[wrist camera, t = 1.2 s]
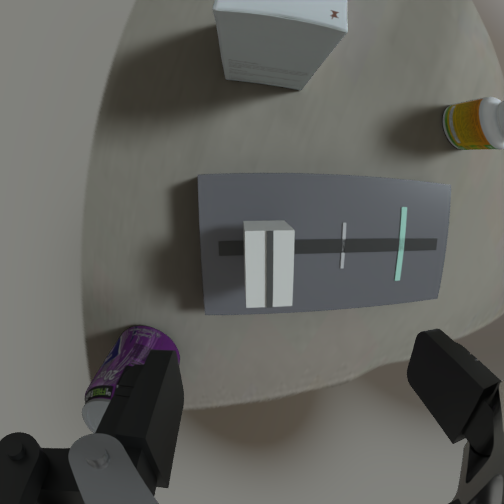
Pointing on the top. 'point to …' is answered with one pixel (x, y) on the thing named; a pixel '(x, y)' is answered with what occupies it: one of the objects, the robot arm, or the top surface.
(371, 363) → the top surface
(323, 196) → the console
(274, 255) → the fader knob
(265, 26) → the supplement box
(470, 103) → the supplement bottle
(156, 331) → the beverage can
